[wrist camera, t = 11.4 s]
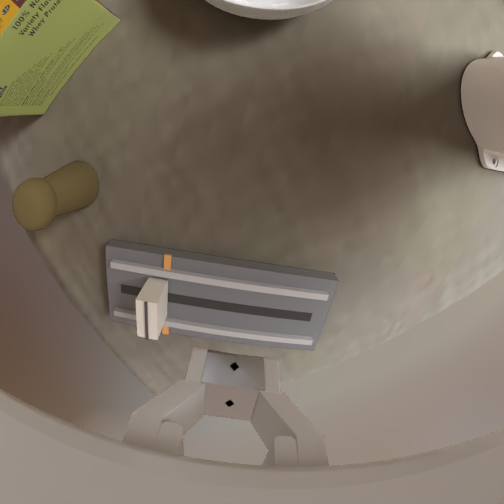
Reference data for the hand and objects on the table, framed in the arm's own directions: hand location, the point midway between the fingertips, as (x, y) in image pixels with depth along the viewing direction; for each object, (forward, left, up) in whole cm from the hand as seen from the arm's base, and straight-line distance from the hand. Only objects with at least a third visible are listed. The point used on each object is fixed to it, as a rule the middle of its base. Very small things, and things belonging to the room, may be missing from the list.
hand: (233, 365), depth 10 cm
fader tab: (+8, +12, -22) cm, 27 cm away
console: (+1, +12, -24) cm, 27 cm away
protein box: (+26, -18, -25) cm, 40 cm away
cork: (+20, 0, -25) cm, 32 cm away
